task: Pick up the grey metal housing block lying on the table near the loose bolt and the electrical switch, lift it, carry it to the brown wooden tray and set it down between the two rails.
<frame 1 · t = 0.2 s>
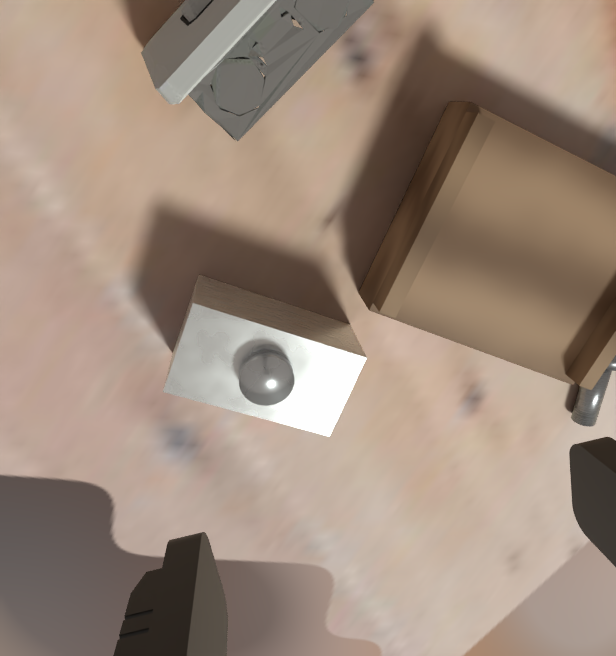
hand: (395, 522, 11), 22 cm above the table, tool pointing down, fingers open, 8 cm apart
electrical switch: (247, 24, 27), on the table
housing: (262, 337, 34), on the table
bolt: (587, 378, 38), on the table
brown wooden tray: (504, 248, 33), on the table
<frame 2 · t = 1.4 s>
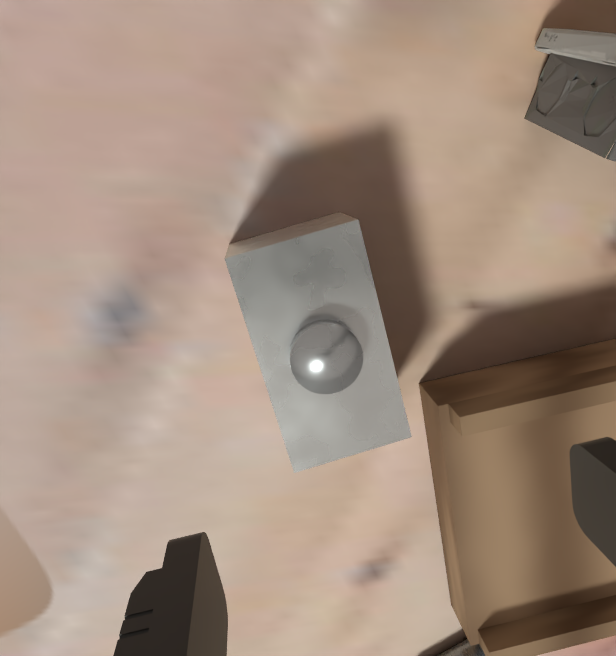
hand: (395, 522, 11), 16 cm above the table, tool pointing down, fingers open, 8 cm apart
electrical switch: (603, 117, 26), on the table
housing: (311, 322, 27), on the table
bolt: (457, 648, 34), on the table
brown wooden tray: (535, 477, 31), on the table
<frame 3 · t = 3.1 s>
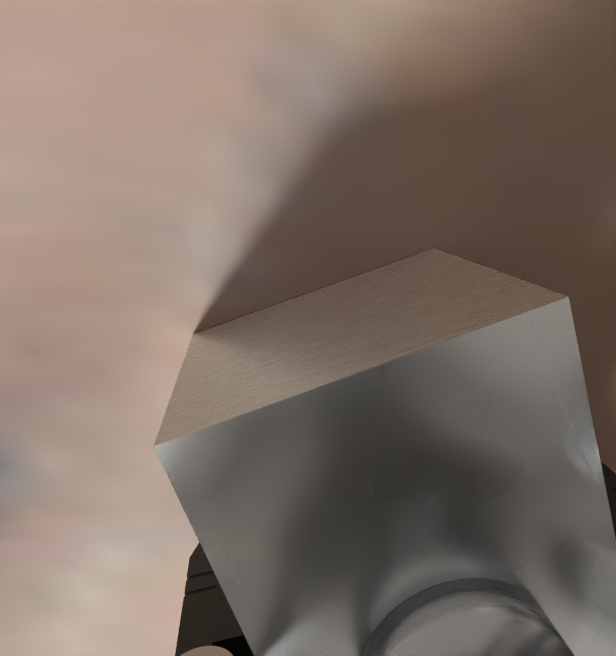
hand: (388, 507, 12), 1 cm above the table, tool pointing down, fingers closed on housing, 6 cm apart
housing: (379, 481, 13), on the table, touching gripper
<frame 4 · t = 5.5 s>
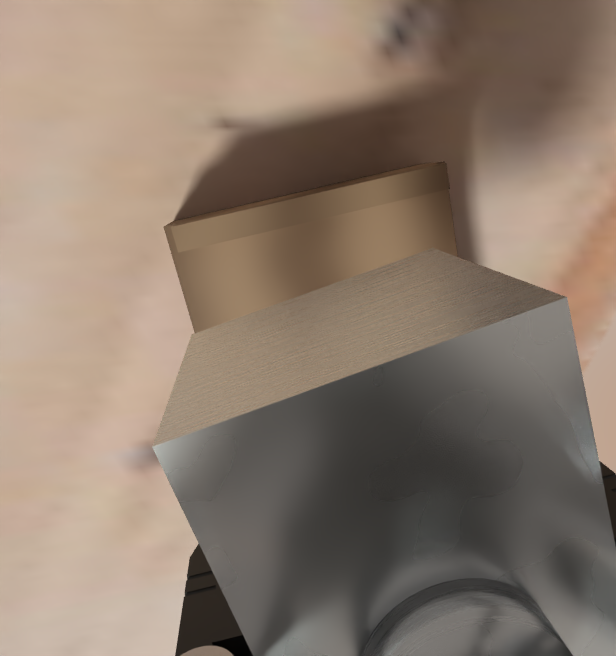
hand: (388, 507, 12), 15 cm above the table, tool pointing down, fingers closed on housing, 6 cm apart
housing: (378, 481, 13), point 14 cm above the table, touching gripper
brown wooden tray: (331, 340, 27), on the table
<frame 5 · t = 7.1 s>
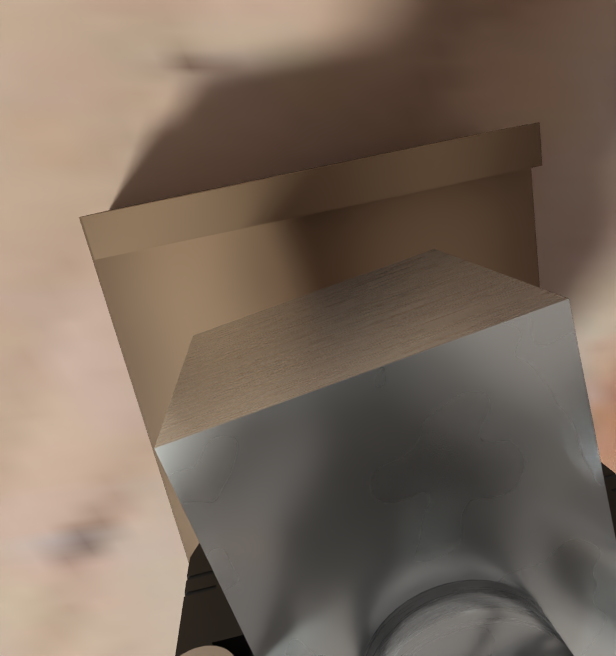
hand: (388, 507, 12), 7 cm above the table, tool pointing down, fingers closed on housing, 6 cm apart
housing: (379, 482, 13), point 6 cm above the table, touching gripper
brown wooden tray: (339, 387, 19), on the table
when the fingers open (5 cm above the table, at t = 8.1 s): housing stays where it is, resting on brown wooden tray.
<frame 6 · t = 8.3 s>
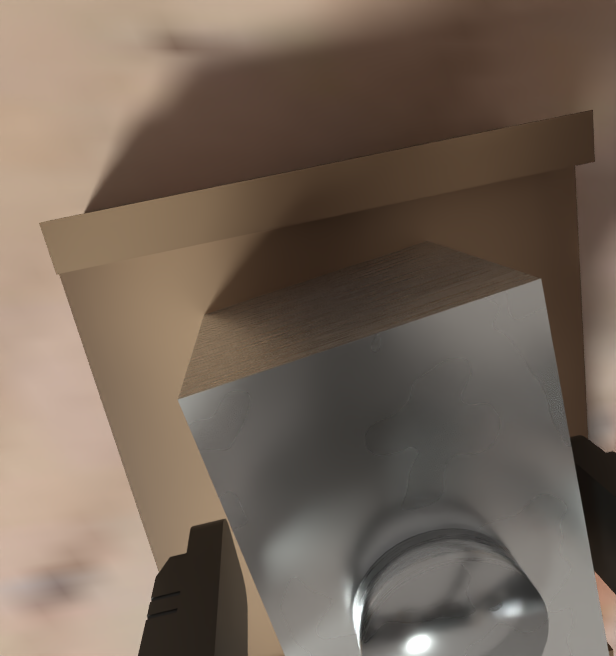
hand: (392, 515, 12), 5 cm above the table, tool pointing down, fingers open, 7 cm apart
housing: (372, 457, 14), point 3 cm above the table, touching brown wooden tray
brown wooden tray: (347, 413, 17), on the table
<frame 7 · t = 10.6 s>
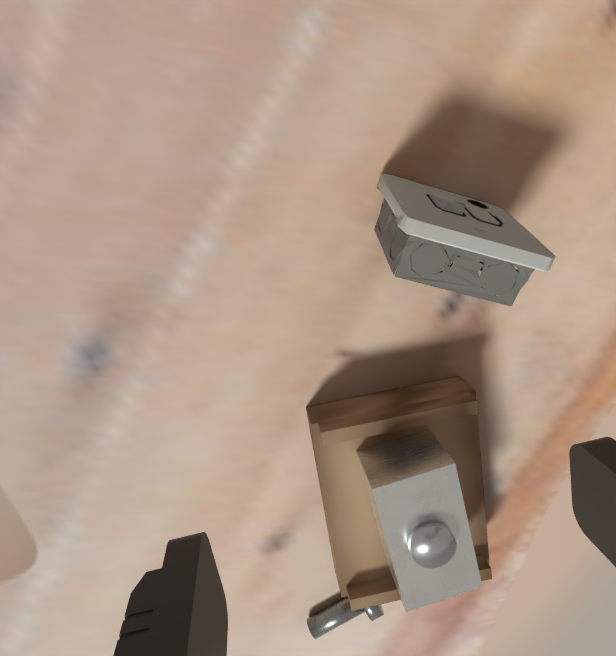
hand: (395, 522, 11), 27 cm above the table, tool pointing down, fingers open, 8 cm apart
electrical switch: (430, 228, 38), on the table
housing: (407, 497, 40), point 3 cm above the table, touching brown wooden tray
bolt: (341, 604, 45), on the table
brown wooden tray: (394, 477, 43), on the table
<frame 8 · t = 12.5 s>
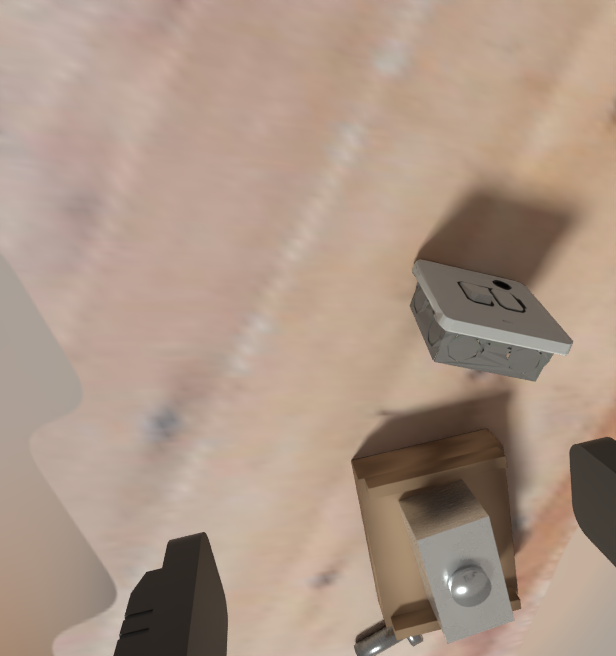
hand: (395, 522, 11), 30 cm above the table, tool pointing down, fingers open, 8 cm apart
electrical switch: (459, 302, 43), on the table
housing: (443, 538, 45), point 3 cm above the table, touching brown wooden tray
bolt: (384, 630, 50), on the table
brown wooden tray: (430, 518, 47), on the table
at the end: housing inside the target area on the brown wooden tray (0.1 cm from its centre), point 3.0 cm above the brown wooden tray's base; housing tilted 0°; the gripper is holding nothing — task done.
